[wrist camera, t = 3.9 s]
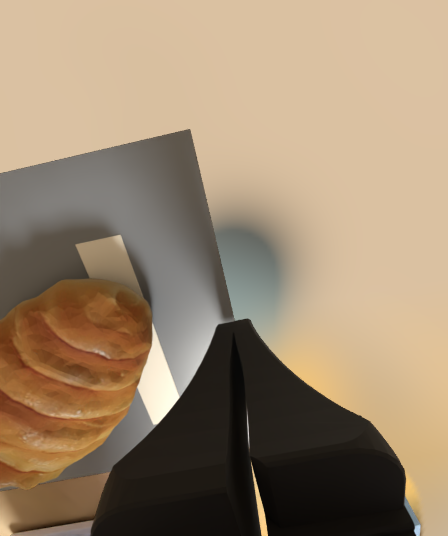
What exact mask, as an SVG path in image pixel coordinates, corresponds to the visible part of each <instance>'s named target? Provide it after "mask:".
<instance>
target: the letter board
mask: <svg viewBox="0 0 448 536" xmlns="http://www.w3.org/2000/svg"><path fill="white" fill-rule="evenodd" d="M87 278H95V279H103V280H109V281H113V282H117V283H120V284H123V285H125V286H127V287H128V288H130V289H132V290H133V291H134V292H136V293H137V294H138V295H139V296H141V297H142V298H144V299H145V300H146V301H147V302H148V304H149V306H150V308H151V311H152V332H153V338H152V347H151V349H150V353H149V355H148V359H147V363H146V365H145V367H144V369H143V372H142V375H141V379H140V382H139V384H138V386H137V388H136V392H135V396H134V399H133V401H132V403H131V405H130V408H129V411H128V413H127V415H126V416H125V417H124V418H123V419H122V420H121V421H120V422H119V424H118V425H117V426H115V427H114V428H113V430H112V432H111V433H110V434H109V436H108V437H107V439H106V440H105V442H104V443H103V444H102V445H100V446H99V447H97V448H96V449H95V450H94V451H92V452H90V453H89V454H87V455H86V456H84V457H83V458H82V459H80V460H78V461H76V462H74V463H73V464H71V465H69V466H68V467H66V468H65V469H64V470H63V471H62V473H61V474H60V475H59V476H58V477H57V478H55V479H52V480H49V481H46V482H43V483H39V484H44V483H50V482H56V481H61V480H67V479H73V478H78V477H84V476H90V475H95V474H101V473H107V472H111V470H112V467H113V466H114V465H115V464H116V463H117V462H118V461H120V460H121V459H122V458H123V457H124V456H125V455H126V454H127V453H128V452H130V451H131V450H132V449H133V448H134V447H135V446H136V445H137V444H138V443H140V442H141V441H142V440H143V439H144V438H145V437H146V436H147V435H148V434H149V433H150V432H151V431H152V430H153V429H154V428H155V427H156V425H157V424H158V423H159V422H160V421H161V420H162V419H163V418H164V417H165V415H166V414H167V413H168V412H169V411H170V409H171V408H172V407H173V405H174V404H175V403H176V402H177V400H178V399H179V398H180V396H181V395H182V393H183V392H184V391H185V389H186V388H187V386H188V385H189V383H190V381H191V380H192V378H193V376H194V375H195V373H196V371H197V369H198V367H199V366H200V364H201V362H202V360H203V358H204V356H205V354H206V352H207V349H208V347H209V345H210V343H211V340H212V338H213V335H214V332H215V329H216V327H217V325H218V324H222V323H228V322H233V321H235V320H234V316H233V311H232V307H231V303H230V298H229V294H228V290H227V285H226V281H225V277H224V273H223V268H222V264H221V260H220V255H219V251H218V247H217V242H216V238H215V234H214V230H213V226H212V221H211V217H210V212H209V208H208V204H207V199H206V195H205V191H204V187H203V182H202V178H201V174H200V170H199V165H198V161H197V157H196V152H195V149H194V144H193V139H192V135H191V131H190V129H188V130H184V131H180V132H175V133H171V134H167V135H162V136H158V137H154V138H150V139H145V140H141V141H137V142H133V143H128V144H124V145H120V146H115V147H111V148H107V149H102V150H98V151H94V152H90V153H85V154H81V155H77V156H73V157H68V158H64V159H60V160H55V161H51V162H47V163H43V164H38V165H34V166H30V167H26V168H21V169H17V170H13V171H9V172H4V173H0V320H1V319H3V318H4V317H5V316H6V315H7V314H8V313H9V312H10V311H11V310H12V309H13V308H14V307H16V306H17V305H18V304H20V303H21V302H22V301H26V300H29V299H32V298H35V297H37V296H39V295H40V294H42V293H43V292H45V291H46V290H47V289H49V288H50V287H52V286H53V285H55V284H56V283H57V282H59V281H61V280H65V279H87ZM247 422H248V416H247ZM248 441H249V432H248ZM39 484H37V485H39ZM16 488H19V487H14V486H8V487H4V488H0V491H5V490H11V489H16Z"/></svg>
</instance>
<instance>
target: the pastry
mask: <svg viewBox="0 0 448 536" xmlns="http://www.w3.org/2000/svg"><path fill="white" fill-rule="evenodd" d="M152 338H153V332H152V311H151V308H150V306H149V304H148V302H147V301H146V300H145V299H144V298H142V297H141V296H139V295H138V294H137V293H136V292H134V291H133V290H132V289H130V288H128V287H127V286H125V285H123V284H120V283H117V282H113V281H109V280H103V279H95V278H87V279H65V280H61V281H59V282H57V283H56V284H55V285H53V286H52V287H50V288H49V289H47V290H46V291H45V292H43V293H42V294H40V295H39V296H37V297H35V298H32V299H29V300H26V301H22V302H21V303H20V304H18V305H17V306H16V307H14V308H13V309H12V310H11V311H10V312H9V313H8V314H7V315H6V316H5V317H4V318H3V319H1V320H0V488H4V487H8V486H14V487H19V488H21V489H23V490H28V489H31V488H34V487H35V486H36V485H37V484H39V483H43V482H46V481H49V480H52V479H55V478H57V477H58V476H59V475H60V474H61V473H62V471H63V470H64V469H65V468H66V467H68V466H69V465H71V464H73V463H74V462H76V461H78V460H80V459H82V458H83V457H84V456H86V455H87V454H89V453H90V452H92V451H94V450H95V449H96V448H97V447H99V446H100V445H102V444H103V443H104V442H105V440H106V439H107V437H108V436H109V434H110V433H111V432H112V430H113V428H114V427H115V426H117V425H118V424H119V422H120V421H121V420H122V419H123V418H124V417H125V416H126V415H127V413H128V411H129V408H130V405H131V403H132V401H133V399H134V396H135V392H136V388H137V386H138V384H139V382H140V379H141V375H142V372H143V369H144V367H145V365H146V363H147V359H148V355H149V353H150V349H151V347H152Z"/></svg>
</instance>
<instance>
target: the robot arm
mask: <svg viewBox="0 0 448 536" xmlns="http://www.w3.org/2000/svg"><path fill="white" fill-rule="evenodd" d="M247 416H248V422H247ZM248 432H249V441H248ZM251 462H252V466H253V470H254V474H255V478H256V482H257V485H258V489H259V493H260V497H261V501H262V504H263V508H264V512H265V517H266V524H267V531H268V536H416V534H415V532H414V530H415V525H414V522H413V520H412V518H411V516H410V514H409V512H408V511H407V509H406V507H405V505H404V504H405V486H406V476H405V470H404V468H403V466H402V465H401V463H400V461H399V459H398V457H397V456H396V454H395V453H394V451H393V450H392V448H391V447H390V446H389V444H388V443H387V442H386V440H385V439H384V438H383V436H382V435H381V434H380V433H379V431H378V430H377V429H376V428H375V427H374V426H373V424H372V423H371V422H370V421H368V420H366V419H365V418H362V417H361V416H359V415H357V414H355V413H353V412H350V411H349V410H347V409H345V408H343V407H341V406H339V405H338V404H336V403H334V402H333V401H331V400H330V399H328V398H326V397H325V396H323V395H322V394H321V393H319V392H317V391H316V390H315V389H313V388H312V387H310V386H309V385H307V384H306V383H305V382H304V381H302V380H301V379H300V378H299V377H298V376H296V375H295V374H294V373H293V372H292V371H291V370H290V369H288V368H287V367H286V366H285V365H284V364H283V363H282V362H281V361H280V360H279V359H278V358H277V357H276V356H275V355H274V353H273V352H272V351H271V350H270V349H269V348H268V346H267V345H266V344H265V343H264V341H263V340H262V339H261V338H260V336H259V335H258V333H257V332H256V330H255V328H254V327H253V325H252V323H251V320H249V319H243V320H238V321H233V322H228V323H222V324H218V325H217V327H216V329H215V332H214V335H213V338H212V340H211V343H210V345H209V347H208V349H207V352H206V354H205V356H204V358H203V360H202V362H201V364H200V366H199V367H198V369H197V371H196V373H195V375H194V376H193V378H192V380H191V381H190V383H189V385H188V386H187V388H186V389H185V391H184V392H183V393H182V395H181V396H180V398H179V399H178V400H177V402H176V403H175V404H174V405H173V407H172V408H171V409H170V411H169V412H168V413H167V414H166V415H165V417H164V418H163V419H162V420H161V421H160V422H159V423H158V424H157V425H156V427H155V428H154V429H153V430H152V431H151V432H150V433H149V434H148V435H147V436H146V437H145V438H144V439H143V440H142V441H141V442H140V443H138V444H137V445H136V446H135V447H134V448H133V449H132V450H131V451H130V452H128V453H127V454H126V455H125V456H124V457H123V458H122V459H121V460H120V461H118V462H117V463H116V464H115V465H114V466H113V467H112V470H111V473H110V475H109V477H108V479H107V482H106V484H105V487H104V490H103V492H102V495H101V499H100V502H99V505H98V508H97V511H96V514H95V518H94V520H91V521H85V522H79V523H73V524H67V525H61V526H55V527H49V528H44V529H38V530H32V531H26V532H20V533H14V534H12V535H11V536H261V529H260V523H259V516H258V509H257V502H256V495H255V488H254V481H253V473H252V466H251Z"/></svg>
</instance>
